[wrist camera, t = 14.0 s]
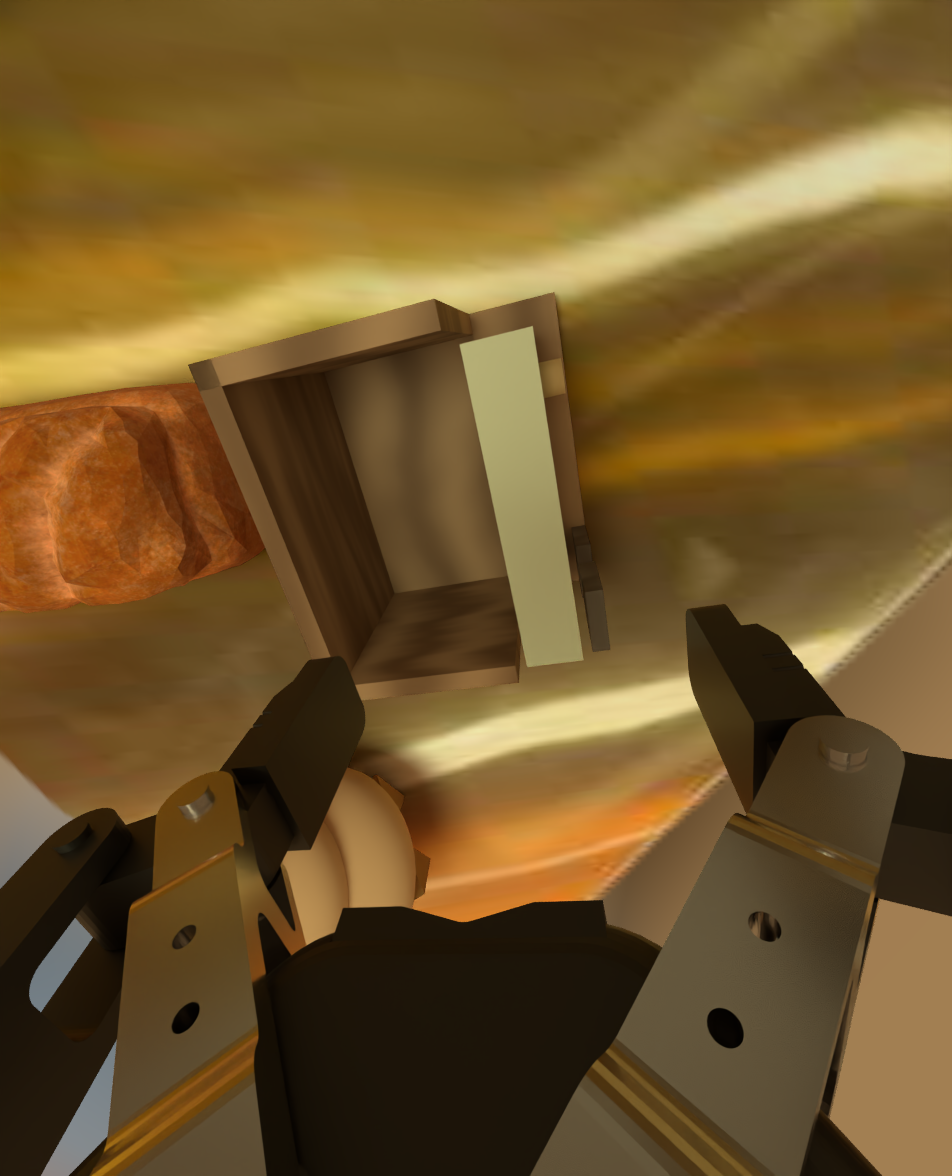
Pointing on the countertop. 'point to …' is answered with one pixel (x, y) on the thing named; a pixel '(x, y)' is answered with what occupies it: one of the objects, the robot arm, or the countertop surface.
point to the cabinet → (391, 492)
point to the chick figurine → (356, 857)
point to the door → (525, 487)
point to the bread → (115, 499)
